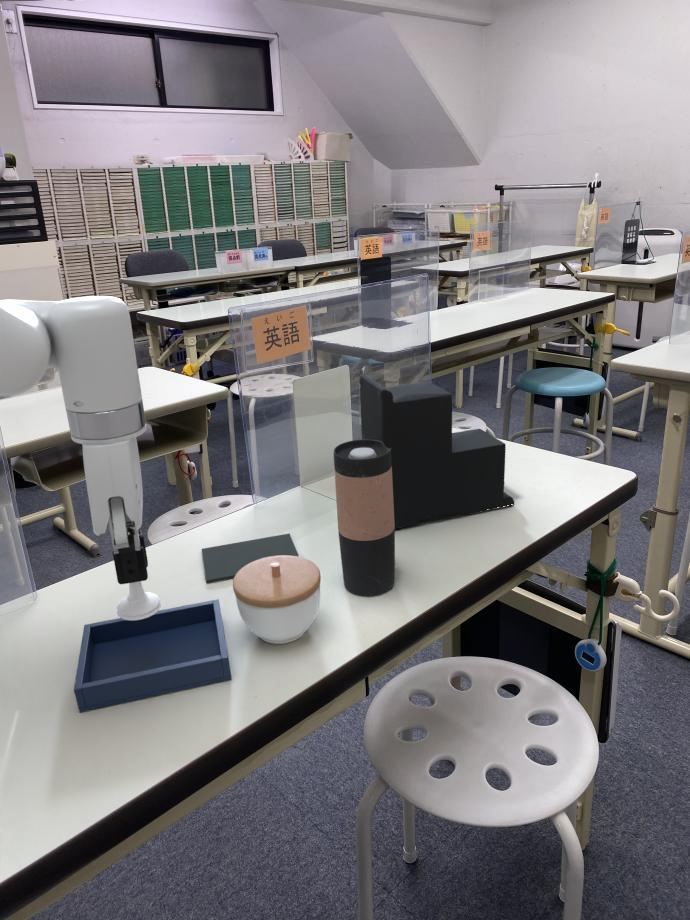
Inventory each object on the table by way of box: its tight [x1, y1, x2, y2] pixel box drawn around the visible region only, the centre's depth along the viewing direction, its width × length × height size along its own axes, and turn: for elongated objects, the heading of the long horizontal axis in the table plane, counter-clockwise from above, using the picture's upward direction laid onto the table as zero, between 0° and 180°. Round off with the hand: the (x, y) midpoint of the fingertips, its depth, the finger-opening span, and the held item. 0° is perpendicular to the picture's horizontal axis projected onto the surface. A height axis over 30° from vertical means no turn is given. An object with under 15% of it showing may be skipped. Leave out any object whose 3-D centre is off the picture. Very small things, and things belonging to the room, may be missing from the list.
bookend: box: [358, 373, 515, 530], centre depth 112 cm, size 23×11×24 cm, turn 108°
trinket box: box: [232, 555, 322, 645], centre depth 85 cm, size 11×11×9 cm
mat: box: [201, 533, 300, 584], centre depth 104 cm, size 14×10×1 cm
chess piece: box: [116, 532, 162, 621], centre depth 77 cm, size 5×5×10 cm
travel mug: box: [333, 439, 396, 597], centre depth 92 cm, size 8×8×20 cm
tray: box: [73, 598, 233, 714], centre depth 81 cm, size 17×13×3 cm
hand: (133, 573), depth 77 cm, fingers closed on chess piece
